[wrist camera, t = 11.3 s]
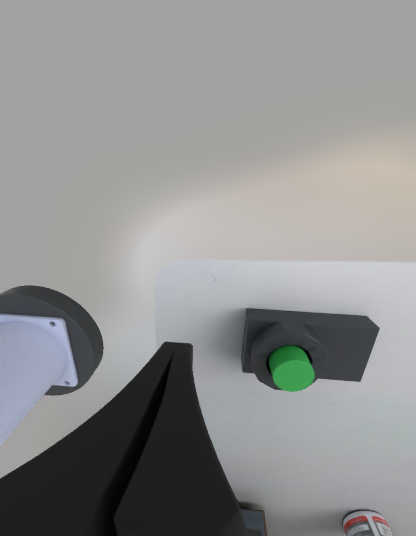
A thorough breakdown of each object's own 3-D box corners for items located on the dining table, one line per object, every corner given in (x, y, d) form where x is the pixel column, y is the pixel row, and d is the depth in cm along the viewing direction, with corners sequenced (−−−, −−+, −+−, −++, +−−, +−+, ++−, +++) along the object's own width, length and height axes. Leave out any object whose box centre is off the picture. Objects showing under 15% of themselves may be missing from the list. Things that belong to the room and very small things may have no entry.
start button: (266, 373, 20) (270, 390, 19) (271, 343, 19) (275, 358, 17) (303, 376, 20) (310, 393, 18) (310, 346, 19) (318, 362, 17)
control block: (241, 358, 24) (243, 387, 20) (246, 307, 22) (250, 330, 18) (350, 367, 23) (370, 397, 20) (367, 315, 21) (393, 340, 18)
